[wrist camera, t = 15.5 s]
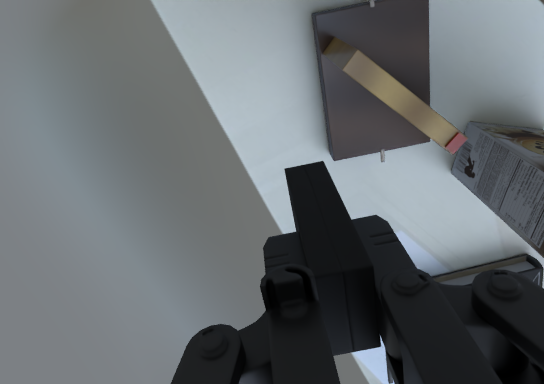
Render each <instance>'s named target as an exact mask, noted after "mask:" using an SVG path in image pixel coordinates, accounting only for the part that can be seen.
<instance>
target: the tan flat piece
mask: <svg viewBox="0 0 544 384" xmlns="http://www.w3.org/2000/svg"><path fill="white" fill-rule="evenodd" d="M323 55H324V56H326V57H327V58H328V59H329V60H330V61H332V62H333V63H334V64H335V65H336V66H338V67H339V68H340V69H341V70H342V71H344V72H345V73H346V74H348V75H349V76H350V77H351V78H353V79H354V80H355V81H357V82H358V83H359V84H361V85H362V86H363V87H364V88H366V89H367V90H368V91H370V92H371V93H372V94H374V95H375V96H376V97H378V98H379V99H380V100H381V101H383V102H384V103H385V104H387V105H388V106H389V107H391V108H392V109H393V110H394V111H396V112H397V113H398V114H400V115H401V116H402V117H404V118H405V119H406V120H407V121H409V122H410V123H411V124H413V125H414V126H415V127H417V128H418V129H419V130H420V131H422V132H423V133H424V134H426V135H427V136H428V137H430V138H431V139H432V140H433V141H435V142H436V143H437V144H439V145H440V146H441V147H443V148H444V149H445V150H447V151H448V152H449V153H450V154H452V155H453V154H454V153H455V152H456V151H457V150H458V149H459V148H460V147H461V146H462V145H463V144H464V143H465V142H466V140H467V139H468V137H467V136H466V135H464V134H463V133H462V132H461V131H459V130H458V129H457V128H456V127H454V126H453V125H452V124H451V123H449V122H448V121H447V120H446V119H445V118H443V117H442V116H441V115H440V114H438V113H437V112H436V111H435V110H433V109H432V108H431V107H430V106H428V105H427V104H426V103H425V102H423V101H422V100H421V99H420V98H418V97H417V96H416V95H415V94H413V93H412V92H411V91H410V90H408V89H407V88H406V87H405V86H403V85H402V84H401V83H400V82H398V81H397V80H396V79H395V78H393V77H392V76H391V75H390V74H388V73H387V72H386V71H385V70H383V69H382V68H381V67H380V66H378V65H377V64H376V63H375V62H373V61H372V60H371V59H370V58H368V57H367V56H366V55H365V54H363V53H362V52H361V51H360V50H358V49H357V48H355V47H353V46H351V45H349V44H347V43H346V42H344V41H342V40H340V39H338V38H336V37H334V38H333V40H332V41H331V42H330V44H329V45H328V47H327V48H326V49H325V51H324V52H323Z"/></svg>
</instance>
